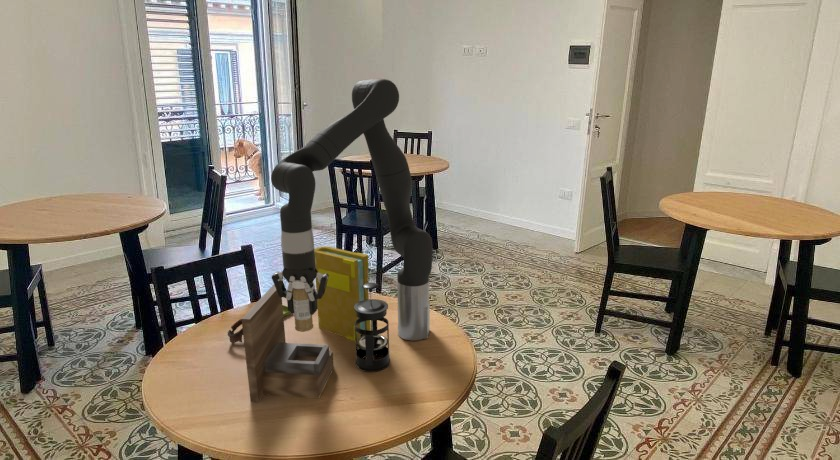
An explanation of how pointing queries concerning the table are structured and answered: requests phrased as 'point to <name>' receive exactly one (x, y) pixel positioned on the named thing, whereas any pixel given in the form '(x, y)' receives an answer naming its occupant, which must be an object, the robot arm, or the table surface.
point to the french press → (371, 333)
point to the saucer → (285, 311)
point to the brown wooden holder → (281, 355)
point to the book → (341, 290)
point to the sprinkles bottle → (301, 307)
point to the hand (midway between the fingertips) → (302, 312)
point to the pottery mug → (238, 335)
